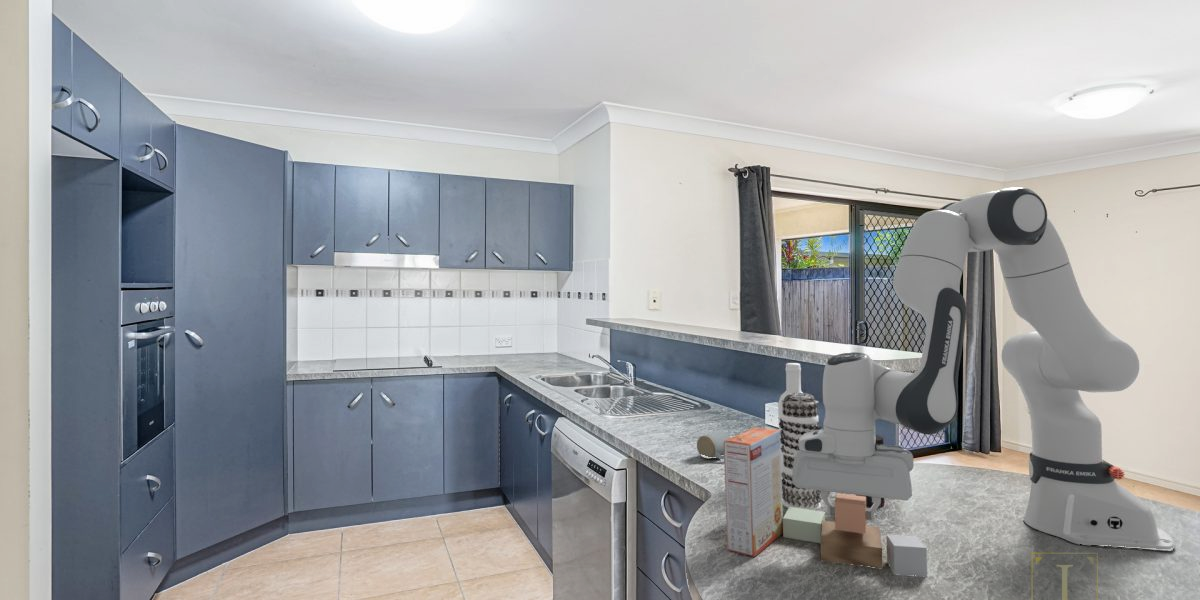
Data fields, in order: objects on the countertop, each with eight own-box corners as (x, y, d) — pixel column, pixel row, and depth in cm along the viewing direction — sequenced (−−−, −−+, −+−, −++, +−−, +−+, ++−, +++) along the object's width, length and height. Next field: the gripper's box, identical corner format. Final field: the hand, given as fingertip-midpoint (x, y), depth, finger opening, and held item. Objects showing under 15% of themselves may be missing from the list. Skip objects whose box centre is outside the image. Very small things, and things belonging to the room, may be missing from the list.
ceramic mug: (694, 457, 177) (694, 431, 176) (712, 452, 182) (712, 427, 182) (723, 465, 168) (723, 438, 168) (741, 459, 174) (741, 433, 173)
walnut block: (879, 548, 112) (879, 527, 112) (882, 571, 103) (882, 548, 103) (823, 541, 116) (822, 520, 116) (821, 562, 107) (820, 540, 107)
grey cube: (917, 564, 105) (917, 536, 105) (926, 577, 100) (926, 547, 100) (886, 562, 106) (886, 534, 106) (894, 575, 101) (894, 545, 101)
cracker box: (756, 527, 123) (754, 425, 123) (784, 534, 119) (782, 429, 119) (724, 550, 112) (722, 439, 112) (754, 558, 108) (752, 443, 108)
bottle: (818, 482, 151) (816, 364, 151) (793, 486, 148) (791, 366, 148) (797, 473, 158) (795, 361, 158) (772, 477, 156) (770, 363, 155)
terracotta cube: (866, 523, 110) (866, 496, 110) (865, 533, 106) (864, 505, 106) (837, 519, 113) (837, 493, 113) (835, 529, 108) (834, 501, 108)
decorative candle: (772, 505, 135) (770, 395, 135) (792, 494, 142) (790, 390, 142) (811, 514, 129) (809, 399, 129) (829, 503, 135) (827, 394, 135)
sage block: (825, 531, 120) (825, 511, 120) (820, 544, 114) (820, 523, 114) (789, 525, 124) (789, 506, 124) (783, 538, 117) (782, 518, 117)
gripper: (912, 442, 108) (914, 519, 108) (795, 433, 117) (796, 504, 117) (913, 451, 102) (915, 531, 102) (789, 440, 111) (791, 514, 111)
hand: (850, 516), depth 109 cm, fingers closed on terracotta cube, 5 cm apart
